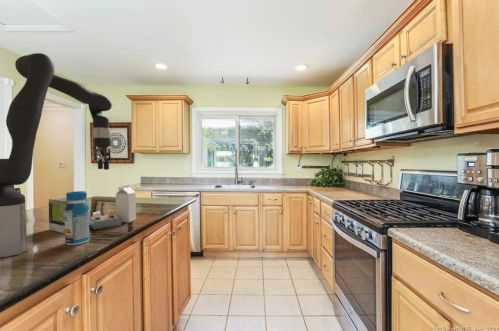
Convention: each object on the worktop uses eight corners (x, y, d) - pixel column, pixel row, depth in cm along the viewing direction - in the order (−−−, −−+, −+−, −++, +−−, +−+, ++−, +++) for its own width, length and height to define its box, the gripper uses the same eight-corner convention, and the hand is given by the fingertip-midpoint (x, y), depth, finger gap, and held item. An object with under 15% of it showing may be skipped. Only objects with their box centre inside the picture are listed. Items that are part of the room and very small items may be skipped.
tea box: (87, 229, 125) (86, 198, 125) (63, 234, 116) (62, 201, 116) (71, 225, 133) (71, 196, 133) (48, 229, 124) (47, 198, 124)
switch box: (121, 225, 131) (121, 216, 131) (94, 229, 123) (93, 220, 123) (113, 220, 142) (113, 212, 141) (87, 224, 134) (87, 216, 133)
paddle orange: (115, 215, 134) (115, 211, 134) (108, 215, 132) (109, 211, 132) (113, 214, 137) (113, 210, 137) (107, 214, 135) (107, 210, 135)
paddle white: (101, 216, 130) (100, 212, 130) (94, 217, 128) (94, 213, 128) (99, 215, 132) (99, 211, 132) (93, 216, 131) (92, 212, 130)
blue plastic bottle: (84, 244, 101) (83, 193, 101) (60, 246, 99) (59, 193, 99) (93, 238, 109) (92, 190, 109) (70, 239, 108) (69, 191, 107)
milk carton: (136, 219, 144) (135, 184, 144) (129, 222, 137) (128, 186, 137) (124, 219, 145) (123, 184, 145) (116, 222, 138) (115, 186, 137)
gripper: (88, 137, 135) (90, 169, 136) (98, 136, 125) (100, 170, 126) (104, 138, 141) (106, 168, 141) (115, 136, 131) (116, 169, 132)
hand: (103, 169), depth 134 cm, fingers open, 8 cm apart
